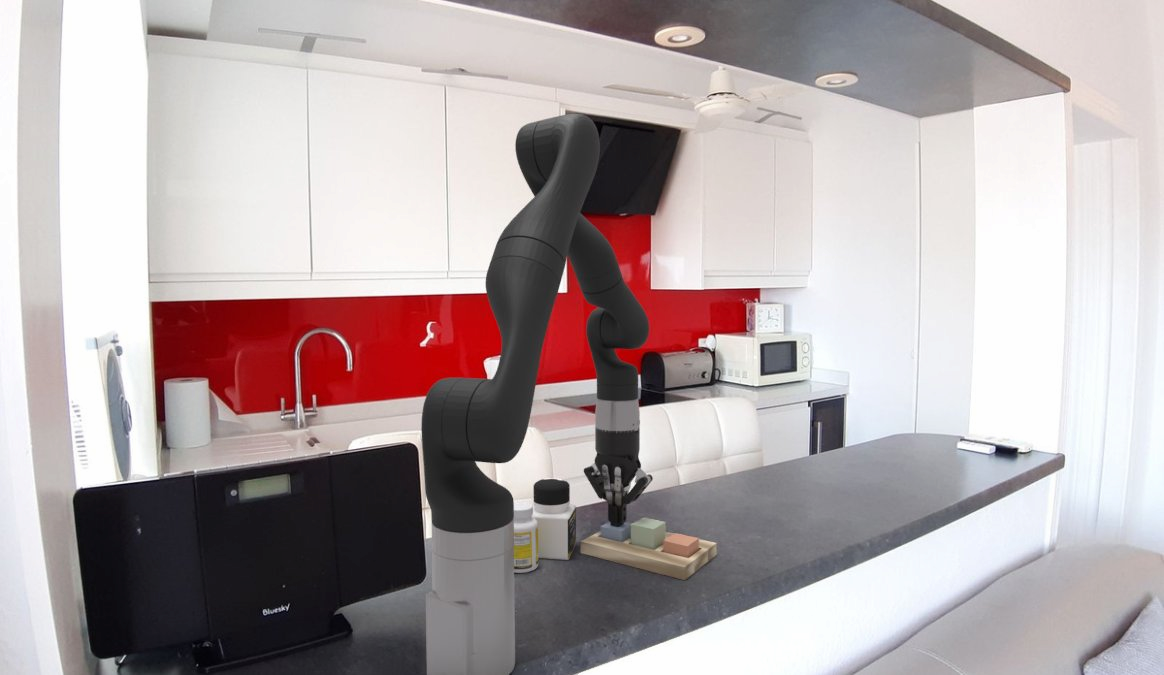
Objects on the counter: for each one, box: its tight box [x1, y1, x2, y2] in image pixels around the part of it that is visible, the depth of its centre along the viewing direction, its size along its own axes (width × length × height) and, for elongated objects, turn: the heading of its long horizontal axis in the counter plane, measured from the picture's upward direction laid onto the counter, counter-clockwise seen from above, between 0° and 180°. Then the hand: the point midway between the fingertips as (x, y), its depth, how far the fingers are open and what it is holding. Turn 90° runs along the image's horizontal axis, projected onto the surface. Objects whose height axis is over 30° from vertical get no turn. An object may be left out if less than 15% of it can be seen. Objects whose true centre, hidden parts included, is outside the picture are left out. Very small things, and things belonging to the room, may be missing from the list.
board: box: [580, 530, 718, 581], centre depth 109 cm, size 12×19×2 cm, turn 55°
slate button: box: [599, 521, 632, 542], centre depth 113 cm, size 4×4×4 cm
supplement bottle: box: [514, 501, 539, 574], centre depth 104 cm, size 5×5×10 cm
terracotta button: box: [663, 532, 700, 558], centre depth 106 cm, size 4×4×4 cm
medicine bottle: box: [532, 477, 577, 561], centre depth 110 cm, size 7×7×12 cm
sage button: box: [631, 516, 667, 550], centre depth 109 cm, size 4×4×4 cm
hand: (617, 525), depth 113 cm, fingers closed
